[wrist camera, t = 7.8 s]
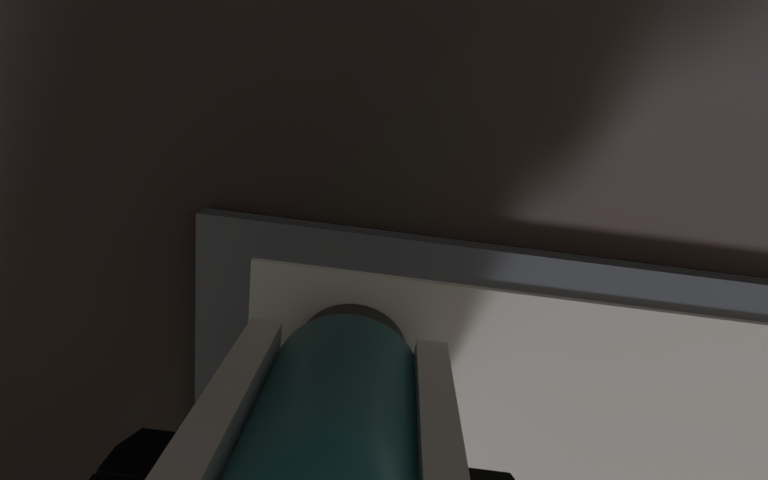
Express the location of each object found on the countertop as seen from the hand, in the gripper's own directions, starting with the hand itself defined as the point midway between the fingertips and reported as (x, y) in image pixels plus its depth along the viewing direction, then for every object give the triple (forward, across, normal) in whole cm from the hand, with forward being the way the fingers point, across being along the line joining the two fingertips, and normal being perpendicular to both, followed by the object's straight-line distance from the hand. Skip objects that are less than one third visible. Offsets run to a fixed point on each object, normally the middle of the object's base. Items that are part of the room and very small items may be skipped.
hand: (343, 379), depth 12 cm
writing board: (+2, +5, -3) cm, 6 cm away
